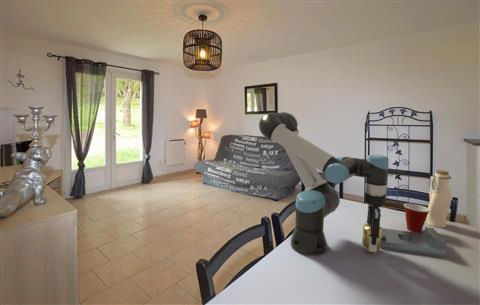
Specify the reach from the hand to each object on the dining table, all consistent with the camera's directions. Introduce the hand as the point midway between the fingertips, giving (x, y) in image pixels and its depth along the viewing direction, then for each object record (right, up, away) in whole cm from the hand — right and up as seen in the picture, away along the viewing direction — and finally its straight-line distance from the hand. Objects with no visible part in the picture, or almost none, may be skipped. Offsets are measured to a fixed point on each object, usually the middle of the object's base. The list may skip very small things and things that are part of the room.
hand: (371, 246), depth 106 cm
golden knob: (0, -2, 0) cm, 2 cm away
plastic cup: (+31, +1, +19) cm, 36 cm away
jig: (+18, -1, +6) cm, 19 cm away
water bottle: (+46, +2, +24) cm, 52 cm away
